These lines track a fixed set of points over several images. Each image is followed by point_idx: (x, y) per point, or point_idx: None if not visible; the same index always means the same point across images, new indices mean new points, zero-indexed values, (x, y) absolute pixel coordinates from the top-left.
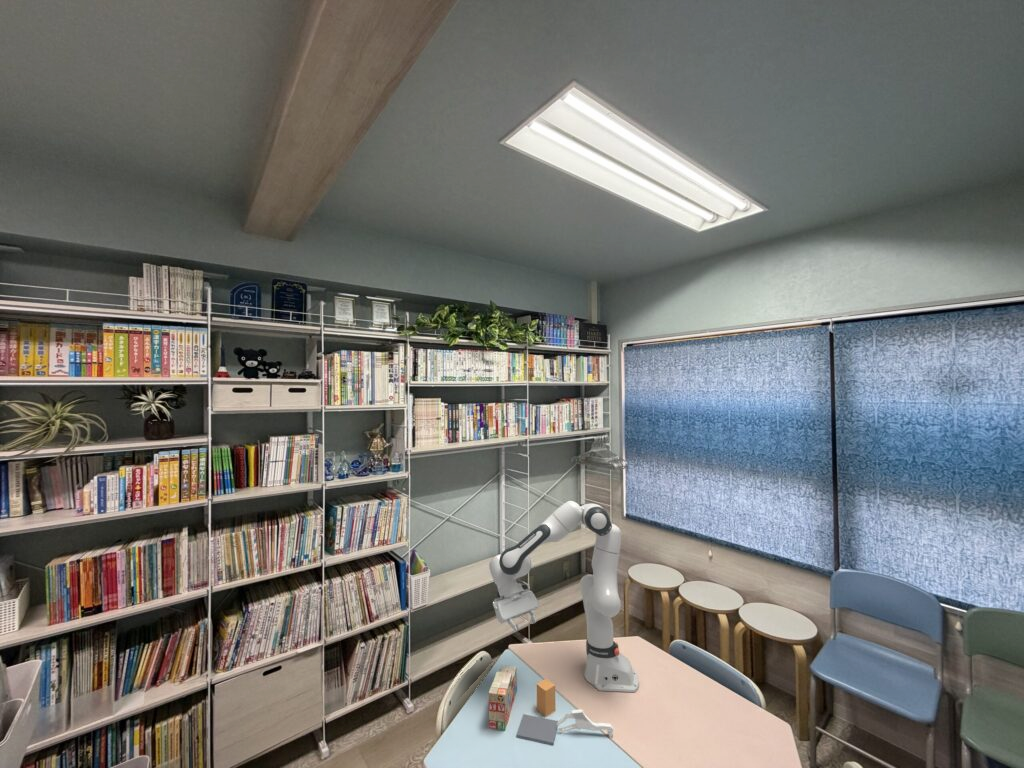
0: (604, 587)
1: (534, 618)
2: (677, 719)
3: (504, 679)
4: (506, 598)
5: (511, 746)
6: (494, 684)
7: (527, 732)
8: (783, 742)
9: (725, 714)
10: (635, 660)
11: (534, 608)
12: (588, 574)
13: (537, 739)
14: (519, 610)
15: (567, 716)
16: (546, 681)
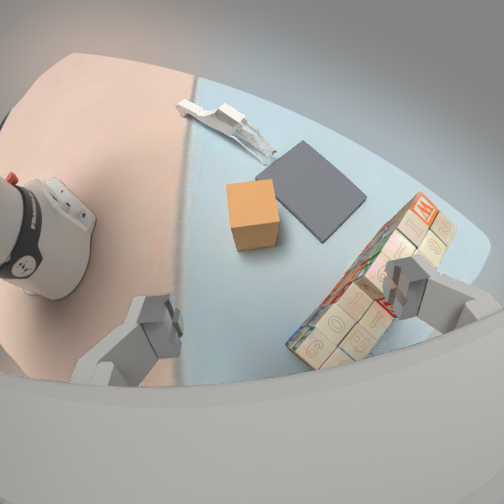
0: None
1: (135, 313)
2: (77, 109)
3: (402, 255)
4: None
5: (382, 186)
6: (436, 251)
7: (341, 187)
8: (53, 66)
9: (38, 103)
10: None
11: (47, 383)
12: None
13: (329, 162)
14: (380, 397)
15: (254, 127)
16: (239, 214)
